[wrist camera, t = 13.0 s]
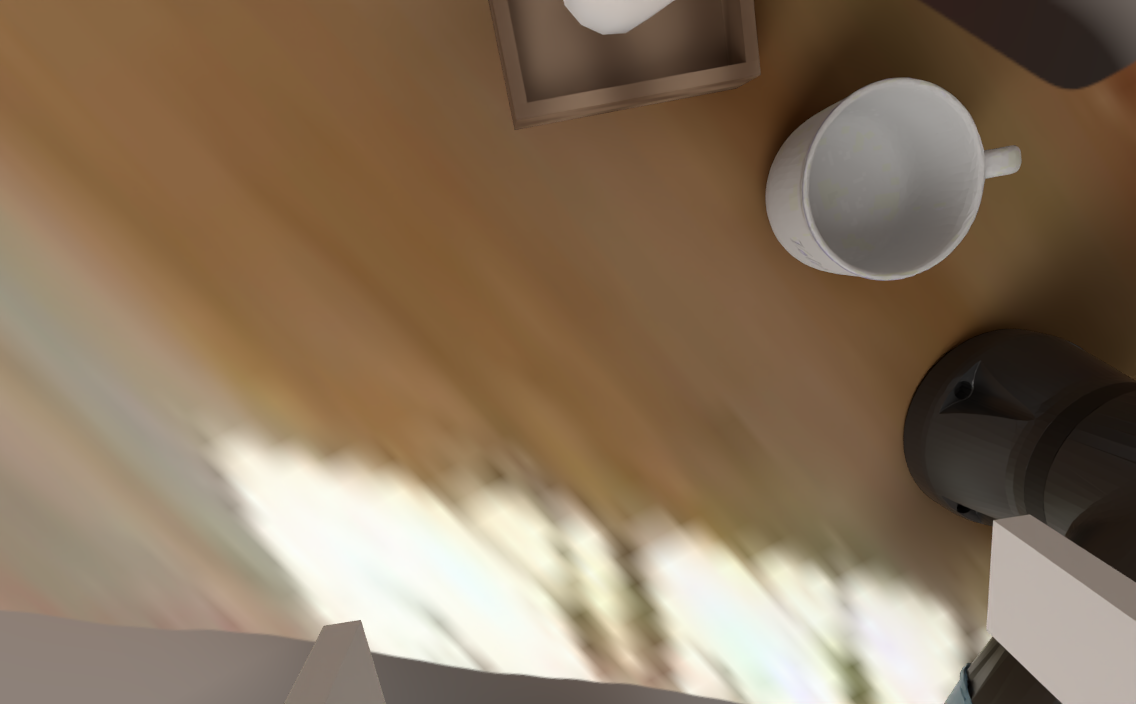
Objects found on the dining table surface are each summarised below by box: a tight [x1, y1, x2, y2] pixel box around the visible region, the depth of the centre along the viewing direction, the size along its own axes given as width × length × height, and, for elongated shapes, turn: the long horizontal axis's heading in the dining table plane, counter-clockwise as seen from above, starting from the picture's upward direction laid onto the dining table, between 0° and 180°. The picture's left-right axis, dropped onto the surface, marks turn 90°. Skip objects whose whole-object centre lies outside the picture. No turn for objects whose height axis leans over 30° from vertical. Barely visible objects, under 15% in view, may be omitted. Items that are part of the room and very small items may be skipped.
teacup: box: [766, 78, 1022, 281], centre depth 35 cm, size 14×11×8 cm
